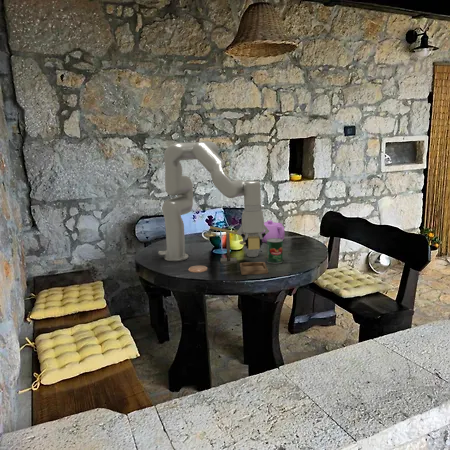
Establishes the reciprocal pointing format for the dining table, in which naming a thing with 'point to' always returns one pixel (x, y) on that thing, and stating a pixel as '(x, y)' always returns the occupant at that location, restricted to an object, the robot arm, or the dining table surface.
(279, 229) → the teakettle
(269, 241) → the canned tomato
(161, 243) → the dining table surface
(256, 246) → the ochre block
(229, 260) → the balance
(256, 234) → the coffee cup
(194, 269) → the terracotta dish
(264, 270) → the walnut tray
